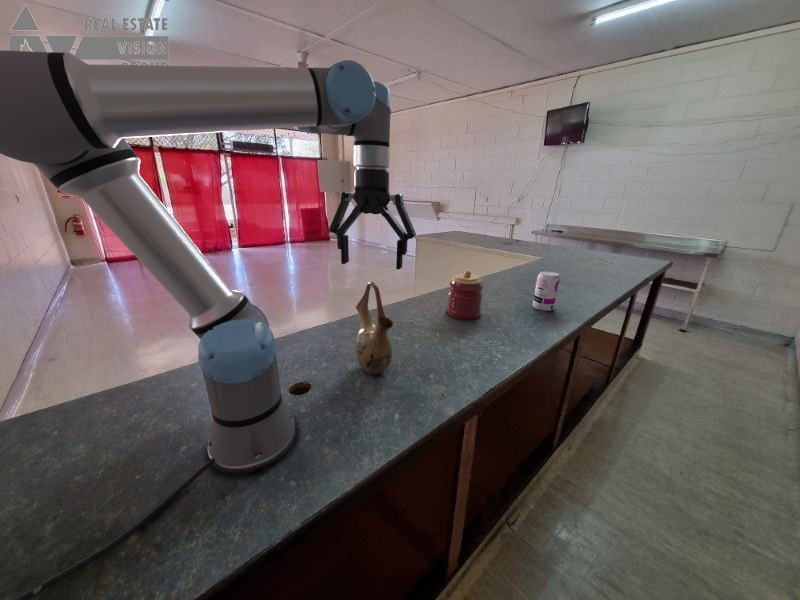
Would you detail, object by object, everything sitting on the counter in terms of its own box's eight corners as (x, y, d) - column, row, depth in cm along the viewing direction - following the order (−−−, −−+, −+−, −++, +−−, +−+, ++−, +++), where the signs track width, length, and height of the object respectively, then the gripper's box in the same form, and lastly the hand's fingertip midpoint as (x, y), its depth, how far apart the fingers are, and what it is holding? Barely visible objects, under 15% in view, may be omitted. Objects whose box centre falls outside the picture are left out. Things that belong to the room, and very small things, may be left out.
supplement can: (554, 306, 134) (561, 272, 129) (551, 313, 127) (559, 277, 122) (534, 302, 138) (540, 269, 133) (530, 308, 132) (536, 273, 126)
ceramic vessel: (403, 380, 81) (407, 288, 73) (372, 391, 77) (372, 294, 68) (373, 352, 94) (373, 271, 86) (345, 360, 90) (342, 276, 81)
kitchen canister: (487, 315, 123) (492, 272, 117) (463, 323, 116) (468, 277, 110) (463, 305, 133) (467, 264, 127) (439, 311, 126) (443, 268, 120)
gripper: (432, 171, 68) (426, 266, 76) (326, 168, 74) (330, 257, 81) (426, 169, 62) (420, 274, 69) (310, 166, 67) (316, 264, 74)
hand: (371, 265), depth 75 cm, fingers open, 13 cm apart
